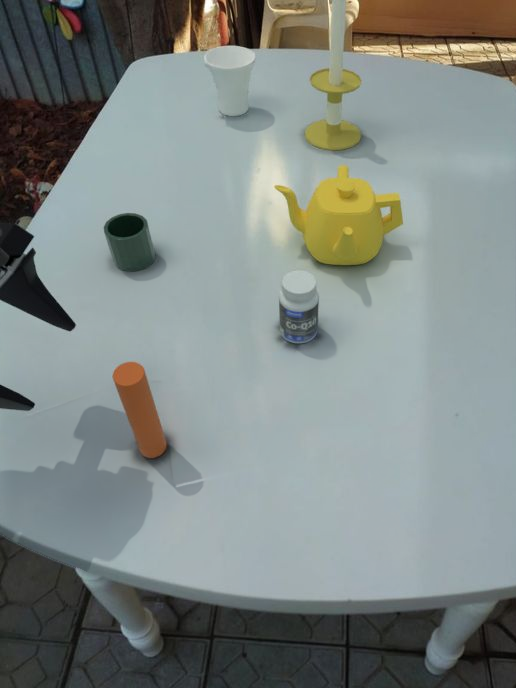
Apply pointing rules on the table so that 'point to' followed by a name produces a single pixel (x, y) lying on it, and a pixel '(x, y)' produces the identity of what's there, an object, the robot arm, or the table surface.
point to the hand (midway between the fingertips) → (54, 365)
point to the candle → (334, 91)
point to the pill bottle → (298, 307)
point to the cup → (231, 77)
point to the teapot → (344, 219)
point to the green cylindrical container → (129, 241)
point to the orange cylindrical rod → (140, 408)
